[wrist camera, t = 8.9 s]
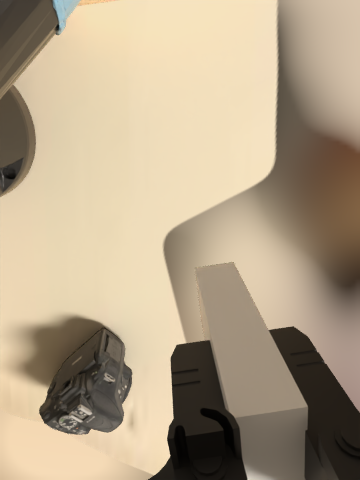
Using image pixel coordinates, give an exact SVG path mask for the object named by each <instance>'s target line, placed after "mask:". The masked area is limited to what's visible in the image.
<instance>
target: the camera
mask: <svg viewBox="0 0 360 480" xmlns="http://www.w3.org/2000/svg"><path fill="white" fill-rule="evenodd" d="M124 356H125V346H124V343H123V342H122V341H121V340H120V339H119V338H118V337H116V336H115V335H114V334H112V333H111V332H109V331H108V330H106V329H105V328H102V329H101V330H100V331H98V332H97V333H96V334H95V335H94V336H93V337H92V338H90V339H89V340H88V341H87V342H86V343H85V344H84V345H83V346H82V347H81V348H79V349H78V350H77V351H76V352H75V353H73V354H72V355H71V356H70V357H69V358H68V359H67V360H66V361H65V362H64V363H63V365H62V367H61V369H60V370H59V371H58V373H57V374H56V376H55V377H54V379H53V381H52V383H51V385H50V387H49V389H48V392H47V394H48V395H47V398H46V400H45V403H44V404H43V405H42V406H41V407H40V409H39V411H40V412H39V414H40V415H41V417H42V419H43V421H44V423H45V424H47V425H48V426H49V427H51V428H52V429H54V430H56V429H57V430H59V431H62V432H65V433H68V434H77V435H82V434H88V433H89V431H90V430H91V429H94V430H98V431H102V432H111V431H113V430H115V429H116V428H117V427H118V426H119V425H120V424H121V423H122V421H123V416H124V411H123V408H122V404H123V402H124V401H125V399H126V397H127V396H128V393H129V391H130V388H131V384H132V372H131V371H132V370H131V369H130V368H129V367H128V366H126V365H125V362H124Z"/></svg>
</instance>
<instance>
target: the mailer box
mask: <svg viewBox="0 0 360 480" xmlns="http://www.w3.org/2000/svg"><path fill="white" fill-rule="evenodd" d="M108 1H115V0H81V1H80V2H79V4H78V5H86V4H93V3H101V2H108ZM78 5H77V6H78Z"/></svg>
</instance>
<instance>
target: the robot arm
mask: <svg viewBox="0 0 360 480" xmlns="http://www.w3.org/2000/svg"><path fill="white" fill-rule="evenodd" d="M80 1H81V0H0V197H1V196H3V195H5V194H7V193H9V192H10V191H12V190H13V189H14V188H16V187H17V186H18V185H19V184H20V183H21V182H22V181H23V179H24V178H25V177H26V175H27V174H28V172H29V170H30V168H31V165H32V162H33V159H34V154H35V145H36V138H35V130H34V125H33V121H32V117H31V115H30V112H29V109H28V107H27V105H26V103H25V101H24V100H23V98H22V96H21V95H20V93H19V92H18V90H17V89H16V88H15V86H14V85H13V84H14V82H15V81H16V80H17V79H18V78H19V76H20V75H21V74H22V73H23V72H24V70H25V69H26V68H27V67H28V66H29V65H30V63H31V62H32V61H33V60H34V59H35V57H36V56H37V55H38V54H39V53H40V51H41V50H42V49H43V48H44V47H45V46H46V44H47V43H48V42H49V41H50V40H51V38H52V37H53V36H54V35H55V34H56V35H60V34H61V33H62V32H63V30H64V28H65V25H66V19H67V18H68V17H69V16H70V14H71V13H72V12H73V10H74V9H75V8H76V6H77V5H78V4H79V2H80ZM195 274H196V281H197V290H198V298H199V306H200V314H201V322H202V328H203V333H204V338H205V341H200V342H193V343H186V344H179V345H177V346H176V348H175V350H174V352H173V354H172V356H171V374H172V395H173V414H174V419H173V421H172V423H171V424H170V426H169V431H168V437H167V441H168V446H169V451H170V455H171V456H170V458H169V460H168V461H167V463H166V465H165V466H164V467H163V468H162V469H161V470H160V471H159V472H158V473H157V474H156V475H154V476H153V477H151V478H150V479H148V480H360V413H359V411H358V410H357V409H356V407H355V406H354V404H353V403H352V401H351V400H350V399H349V397H348V395H347V394H346V393H345V391H344V390H343V388H342V387H341V385H340V384H339V382H338V381H337V379H336V378H335V376H334V375H333V373H332V372H331V371H330V369H329V368H328V366H327V364H325V363H324V360H323V359H322V357H321V356H320V354H319V353H318V352H317V350H316V348H315V347H314V345H313V344H312V342H311V341H310V339H309V338H308V337H307V336H306V335H305V334H303V333H302V332H300V331H299V330H298V329H296V328H294V327H286V328H279V329H273V330H268V328H267V326H266V324H265V323H264V320H263V318H262V317H261V315H260V313H259V311H258V309H257V307H256V305H255V303H254V301H253V299H252V297H251V295H250V293H249V291H248V289H247V287H246V285H245V284H244V282H243V280H242V278H241V276H240V274H239V272H238V270H237V268H236V267H235V264H234V262H230V263H224V264H216V265H210V266H203V267H196V268H195Z"/></svg>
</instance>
